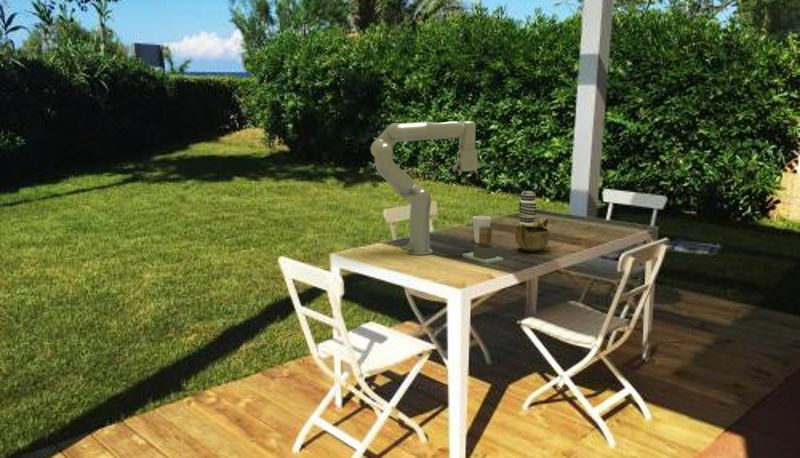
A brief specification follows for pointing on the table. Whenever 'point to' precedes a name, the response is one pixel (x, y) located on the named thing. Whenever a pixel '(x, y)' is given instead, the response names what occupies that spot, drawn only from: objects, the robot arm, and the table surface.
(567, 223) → the table surface
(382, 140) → the robot arm
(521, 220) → the decorative candle
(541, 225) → the brown round bowl
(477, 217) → the foam cup
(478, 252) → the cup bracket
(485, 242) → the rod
